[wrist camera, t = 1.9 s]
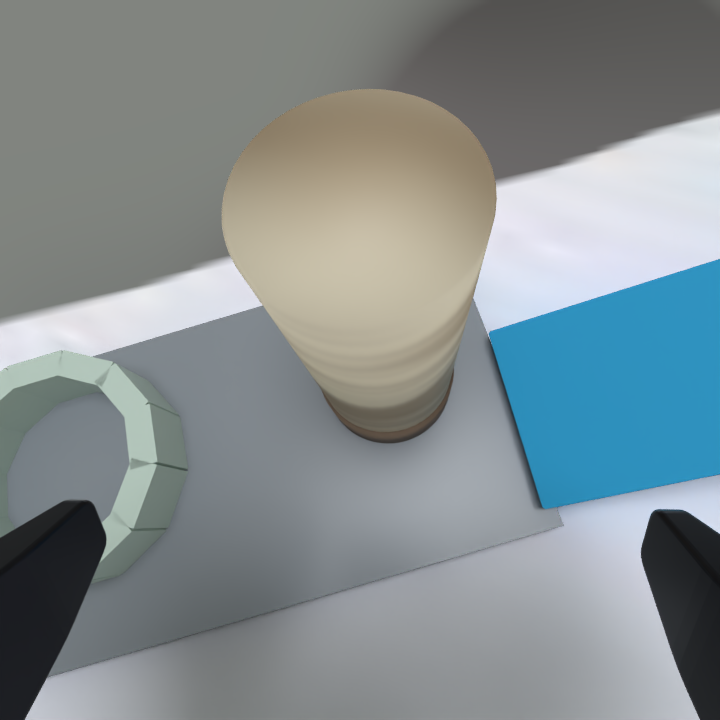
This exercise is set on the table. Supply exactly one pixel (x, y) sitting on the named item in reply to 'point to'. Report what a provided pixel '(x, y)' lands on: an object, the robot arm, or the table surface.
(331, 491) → the thin grey base plate
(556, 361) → the blue long block
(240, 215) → the birch peg
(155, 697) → the table surface
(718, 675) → the robot arm
